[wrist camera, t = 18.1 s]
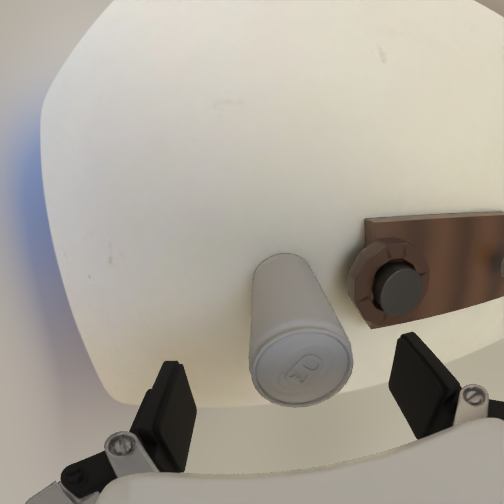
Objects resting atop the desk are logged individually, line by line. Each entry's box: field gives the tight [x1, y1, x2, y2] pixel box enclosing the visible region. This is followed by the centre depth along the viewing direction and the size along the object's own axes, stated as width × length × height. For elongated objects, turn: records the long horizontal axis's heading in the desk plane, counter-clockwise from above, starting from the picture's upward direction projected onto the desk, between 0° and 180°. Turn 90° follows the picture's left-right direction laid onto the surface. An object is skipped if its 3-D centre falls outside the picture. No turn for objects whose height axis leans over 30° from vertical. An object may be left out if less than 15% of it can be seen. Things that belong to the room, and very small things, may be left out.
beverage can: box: [249, 253, 353, 408], centre depth 17 cm, size 5×5×12 cm
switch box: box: [348, 211, 504, 329], centre depth 20 cm, size 20×9×4 cm, turn 96°
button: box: [372, 262, 423, 316], centre depth 18 cm, size 4×4×2 cm
